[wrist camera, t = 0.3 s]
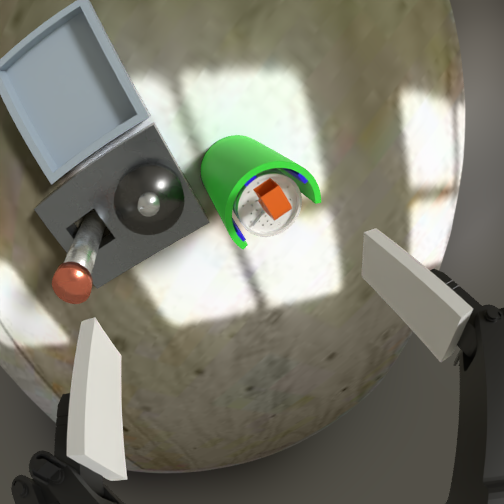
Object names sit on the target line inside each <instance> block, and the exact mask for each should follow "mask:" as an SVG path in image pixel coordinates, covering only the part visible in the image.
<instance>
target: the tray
mask: <svg viewBox="0 0 504 504" xmlns="http://www.w3.org/2000/svg"><path fill="white" fill-rule="evenodd" d="M0 95H1V97H2V99H3V101H4V103H5V105H6V107H7V109H8V111H9V113H10V115H11V117H12V119H13V121H14V122H15V124H16V126H17V128H18V130H19V132H20V133H21V135H22V137H23V139H24V141H25V142H26V144H27V146H28V147H29V149H30V151H31V153H32V154H33V156H34V158H35V159H36V161H37V163H38V164H39V166H40V167H41V169H42V171H43V172H44V174H45V175H46V177H47V178H48V180H49V182H50V183H51V185H52V184H53V183H54V182H55V181H57V180H58V179H59V178H60V177H62V176H63V175H64V174H65V173H67V172H68V171H69V170H71V169H72V168H73V167H75V166H76V165H77V164H79V163H80V162H81V161H83V160H84V159H86V158H87V157H88V156H90V155H91V154H93V153H94V152H95V151H97V150H98V149H100V148H101V147H103V146H104V145H106V144H107V143H109V142H110V141H112V140H113V139H115V138H116V137H118V136H119V135H121V134H123V133H124V132H126V131H127V130H129V129H131V128H132V127H134V126H135V125H137V124H139V123H140V122H142V121H144V120H146V119H147V118H149V117H150V114H149V112H148V110H147V108H146V107H145V105H144V103H143V101H142V99H141V97H140V96H139V94H138V92H137V90H136V88H135V86H134V84H133V83H132V81H131V79H130V77H129V75H128V73H127V71H126V70H125V68H124V66H123V64H122V62H121V60H120V58H119V56H118V54H117V53H116V51H115V49H114V47H113V45H112V43H111V41H110V39H109V37H108V35H107V34H106V32H105V30H104V28H103V26H102V24H101V22H100V20H99V18H98V16H97V14H96V12H95V10H94V8H93V6H92V4H91V2H90V1H89V0H77V1H75V2H74V3H72V4H71V5H69V6H68V7H66V8H65V9H63V10H62V11H60V12H59V13H57V14H56V15H54V16H53V17H51V18H50V19H49V20H47V21H46V22H45V23H43V24H42V25H40V26H39V27H38V28H37V29H35V30H34V31H33V32H31V33H30V34H29V35H28V36H26V37H25V38H24V39H23V40H22V41H20V42H19V43H18V44H17V45H16V46H15V47H13V48H12V49H11V50H10V51H9V52H8V53H7V54H6V55H5V56H4V57H2V58H1V59H0Z"/></svg>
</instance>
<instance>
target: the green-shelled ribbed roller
mask: <svg viewBox="0 0 504 504" xmlns="http://www.w3.org/2000/svg"><path fill="white" fill-rule="evenodd" d="M201 179H202V182H203V185H204V187H205V189H206V190H207V192H208V194H209V196H210V198H211V200H212V202H213V204H214V206H215V208H216V210H217V212H218V214H219V215H220V217H221V219H222V221H223V223H224V225H225V227H226V229H227V231H228V233H229V235H230V236H231V238H232V240H233V241H234V242H235V243H236V244H237V245H238V246H239V247H240V248H242V249H244V248H245V247H246V246H247V243H246V241H245V240H246V239H245V238H244V236H243V234H242V233H241V231H240V230H239V228H238V226H237V225H236V223H235V221H234V220H233V218H232V210H233V211H234V213H235V214H236V216H237V218H238V219H239V221H240V222H241V224H242V225H243V227H244V228H245V229H246V230H247V231H249V232H250V233H252V234H254V235H257V236H262V237H268V236H274V235H277V234H280V233H282V232H283V231H285V230H286V229H288V228H289V227H290V226H291V225H292V224H293V223H294V221H295V220H296V219H297V217H298V215H299V213H300V210H301V205H302V196H301V193H303V194H304V195H305V196H306V197H308V198H309V199H310V200H312V201H313V202H314V203H315V204H316V203H321V195H320V190H319V187H318V184H317V182H316V180H315V179H314V177H313V176H312V175H311V174H310V173H309V172H308V171H307V170H306V169H305V168H303V167H301V166H300V165H298V164H296V163H295V162H293V161H291V160H289V159H288V158H286V157H284V156H282V155H281V154H279V153H277V152H275V151H274V150H272V149H270V148H268V147H266V146H265V145H263V144H261V143H259V142H257V141H255V140H253V139H251V138H249V137H246V136H240V135H235V136H229V137H225V138H223V139H221V140H219V141H217V142H216V143H215V144H213V145H212V146H211V147H210V148H209V149H208V151H207V152H206V154H205V156H204V158H203V160H202V164H201ZM279 223H280V224H279Z"/></svg>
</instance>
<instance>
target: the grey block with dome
mask: <svg viewBox="0 0 504 504" xmlns="http://www.w3.org/2000/svg"><path fill="white" fill-rule="evenodd" d="M92 209H95V210H96V212H97V213H98V215H99V216H100V218H101V219H102V220H103V222H104V223H105V224H106V226H107V227H108V229H109V230H110V231H111V233H110V234H108V235H107V236H105V237H104V238H102V239H101V242H100V245H99V248H98V252H97V255H96V258H95V262H94V266H93V269H92V273H91V276H92V280H93V284H94V286H95V287H96V288H99V287H101V286H102V285H104V284H106V283H107V282H109V281H110V280H112V279H114V278H115V277H117V276H119V275H120V274H122V273H123V272H125V271H127V270H128V269H130V268H132V267H133V266H135V265H137V264H138V263H140V262H142V261H143V260H145V259H147V258H149V257H150V256H152V255H154V254H155V253H157V252H159V251H160V250H162V249H164V248H166V247H167V246H169V245H171V244H173V243H174V242H176V241H178V240H179V239H181V238H183V237H185V236H187V235H188V234H190V233H192V232H194V231H195V230H197V229H199V228H201V227H202V226H204V225H206V224H208V223H209V221H208V218H207V216H206V213H205V212H204V210H203V208H202V206H201V205H200V203H199V201H198V199H197V198H196V196H195V194H194V192H193V191H192V189H191V187H190V185H189V184H188V182H187V180H186V178H185V177H184V175H183V173H182V171H181V169H180V168H179V166H178V164H177V162H176V161H175V159H174V157H173V155H172V153H171V152H170V150H169V148H168V146H167V145H166V143H165V141H164V139H163V137H162V136H161V134H160V132H159V130H158V128H157V127H156V125H155V123H152V124H151V125H149V126H147V127H145V128H144V129H142V130H140V131H139V132H137V133H135V134H134V135H132V136H131V137H129V138H127V139H126V140H124V141H123V142H121V143H119V144H118V145H116V146H115V147H113V148H112V149H110V150H109V151H107V152H106V153H104V154H103V155H101V156H100V157H98V158H97V159H96V160H94V161H93V162H91V163H90V164H88V165H87V166H86V167H84V168H83V169H82V170H80V171H79V172H77V173H76V174H75V175H73V176H72V177H71V178H69V179H68V180H67V181H66V182H64V183H63V184H62V185H60V186H59V187H58V188H57V189H55V190H54V191H53V192H52V193H50V194H49V195H48V196H47V197H46V198H44V199H43V200H42V201H41V202H40V203H39V204H38V205H37V207H36V208H35V209H34V210H35V211H36V212H37V214H38V215H39V217H40V218H41V220H42V221H43V222H44V224H45V225H46V226H47V228H48V229H49V230H50V232H51V233H52V234H53V236H54V237H55V238H56V240H57V241H58V242H59V243H60V245H61V246H62V247H63V249H64V250H65V251H66V252H67V254H68V252H69V249H70V247H71V245H72V243H73V241H74V238H75V236H76V234H77V232H78V230H79V229H78V227H77V226H76V225H75V223H74V222H75V221H77V220H78V219H80V218H81V217H82V216H84V215H85V214H87V213H88V212H89V211H91V210H92Z"/></svg>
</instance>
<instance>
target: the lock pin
mask: <svg viewBox="0 0 504 504" xmlns="http://www.w3.org/2000/svg"><path fill="white" fill-rule="evenodd" d="M105 226H106V224H105V223H104V222H103V220H102V219H101V218H100V216H99V215H98V213H96V212H92V213H89V214H87V215H86V216H85V218H84V220H83V222H82V224H81V226H80V228H79V230H78V232H77V234H76V236H75V238H74V241H73V243H72V245H71V247H70V249H69V252H68V254H67V256H66V258H65V261H64V263H62V264H61V265H60V266H59V267H58V268H57V270H56V272H55V274H54V277H53V280H52V286H53V290H54V292H55V293H56V295H57V296H58V297H59V298H60V299H62V300H63V301H65V302H68V303H71V304H79V303H82V302H84V301H86V300H87V299H88V297H89V296H90V293H91V289H92V284H93V280H92V276H91V273H92V269H93V266H94V262H95V258H96V255H97V252H98V248H99V245H100V242H101V239H102V235H103V232H104V229H105Z"/></svg>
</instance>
